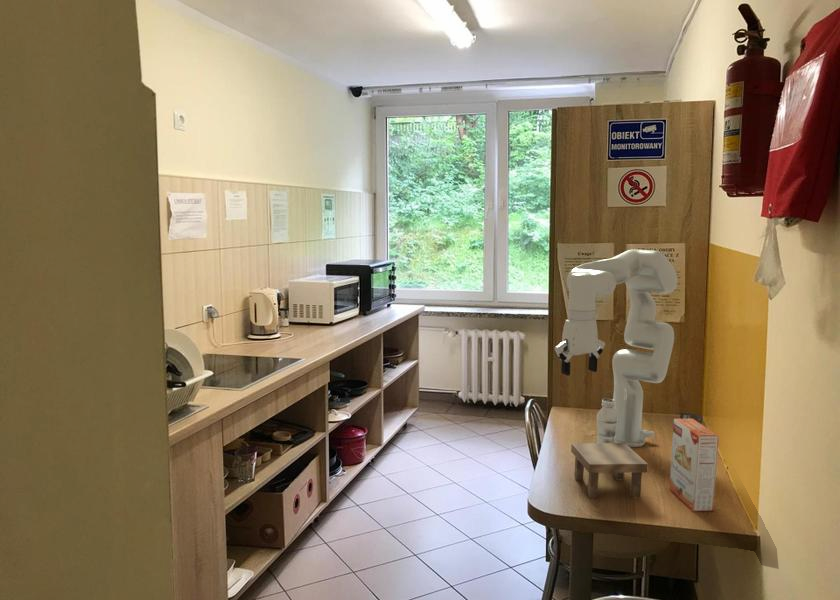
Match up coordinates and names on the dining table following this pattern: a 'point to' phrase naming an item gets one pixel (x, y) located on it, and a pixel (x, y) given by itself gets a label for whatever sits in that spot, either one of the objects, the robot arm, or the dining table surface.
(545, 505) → the dining table surface
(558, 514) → the dining table surface
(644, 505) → the dining table surface
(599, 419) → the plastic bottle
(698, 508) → the cracker box
